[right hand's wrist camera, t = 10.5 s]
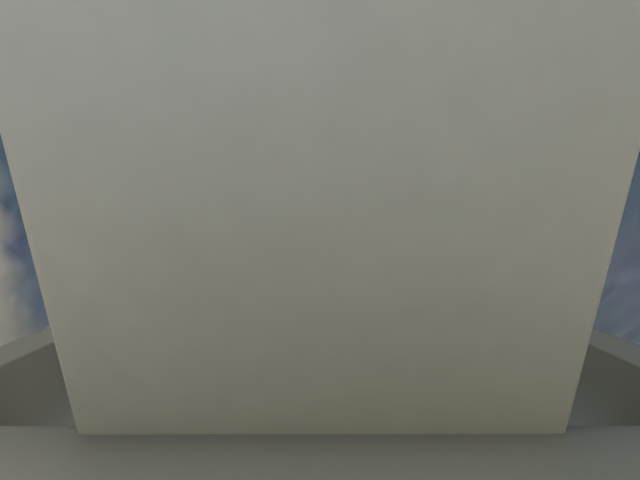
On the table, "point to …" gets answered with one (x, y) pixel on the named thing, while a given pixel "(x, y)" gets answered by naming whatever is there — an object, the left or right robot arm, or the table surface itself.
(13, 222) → the table surface
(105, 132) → the bar
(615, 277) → the table surface
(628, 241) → the table surface
